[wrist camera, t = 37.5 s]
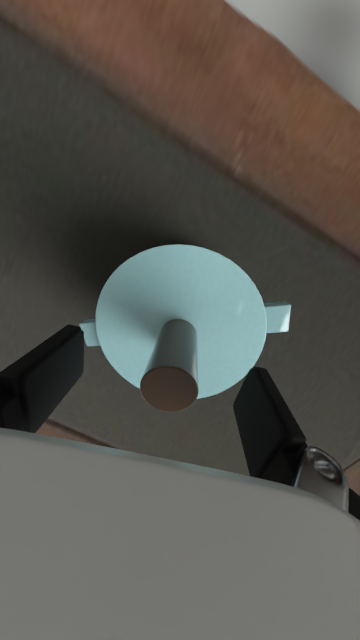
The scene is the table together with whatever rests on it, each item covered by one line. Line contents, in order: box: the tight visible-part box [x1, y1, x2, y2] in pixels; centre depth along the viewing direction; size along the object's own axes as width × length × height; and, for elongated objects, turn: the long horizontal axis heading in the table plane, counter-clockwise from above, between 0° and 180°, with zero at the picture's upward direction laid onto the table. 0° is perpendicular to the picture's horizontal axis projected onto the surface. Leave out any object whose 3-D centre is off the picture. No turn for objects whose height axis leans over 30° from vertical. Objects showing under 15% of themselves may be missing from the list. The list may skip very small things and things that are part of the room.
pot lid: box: [95, 244, 267, 412], centre depth 13 cm, size 14×14×7 cm
